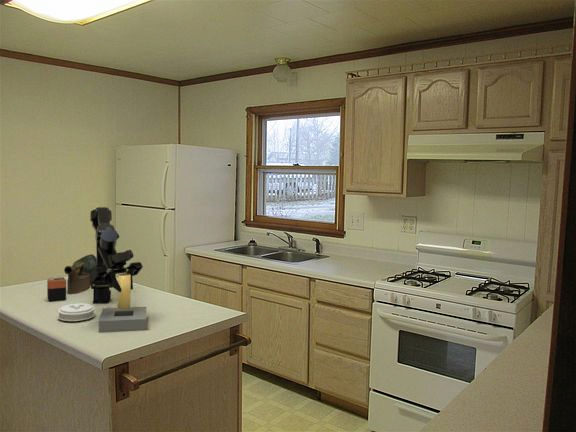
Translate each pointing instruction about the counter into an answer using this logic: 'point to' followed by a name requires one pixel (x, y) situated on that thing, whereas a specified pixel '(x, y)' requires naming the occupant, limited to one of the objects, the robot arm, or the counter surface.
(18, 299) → the counter surface
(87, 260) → the squash
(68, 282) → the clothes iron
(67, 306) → the lid
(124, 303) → the plug
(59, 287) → the battery
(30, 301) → the counter surface
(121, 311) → the socket block
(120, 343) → the counter surface
